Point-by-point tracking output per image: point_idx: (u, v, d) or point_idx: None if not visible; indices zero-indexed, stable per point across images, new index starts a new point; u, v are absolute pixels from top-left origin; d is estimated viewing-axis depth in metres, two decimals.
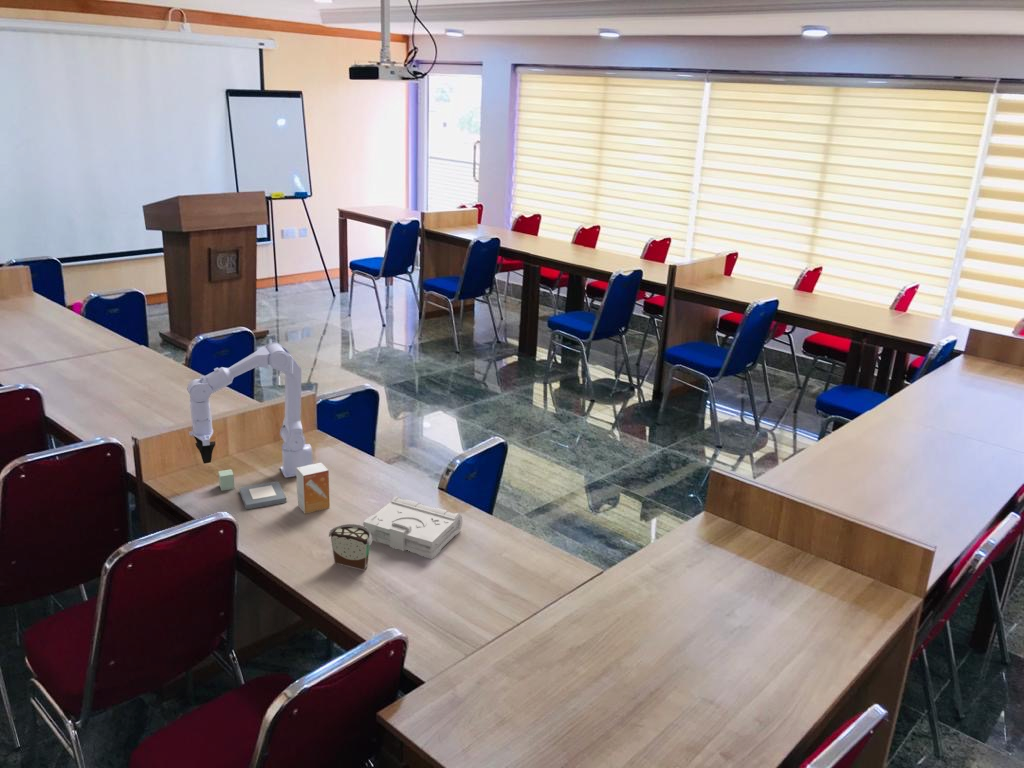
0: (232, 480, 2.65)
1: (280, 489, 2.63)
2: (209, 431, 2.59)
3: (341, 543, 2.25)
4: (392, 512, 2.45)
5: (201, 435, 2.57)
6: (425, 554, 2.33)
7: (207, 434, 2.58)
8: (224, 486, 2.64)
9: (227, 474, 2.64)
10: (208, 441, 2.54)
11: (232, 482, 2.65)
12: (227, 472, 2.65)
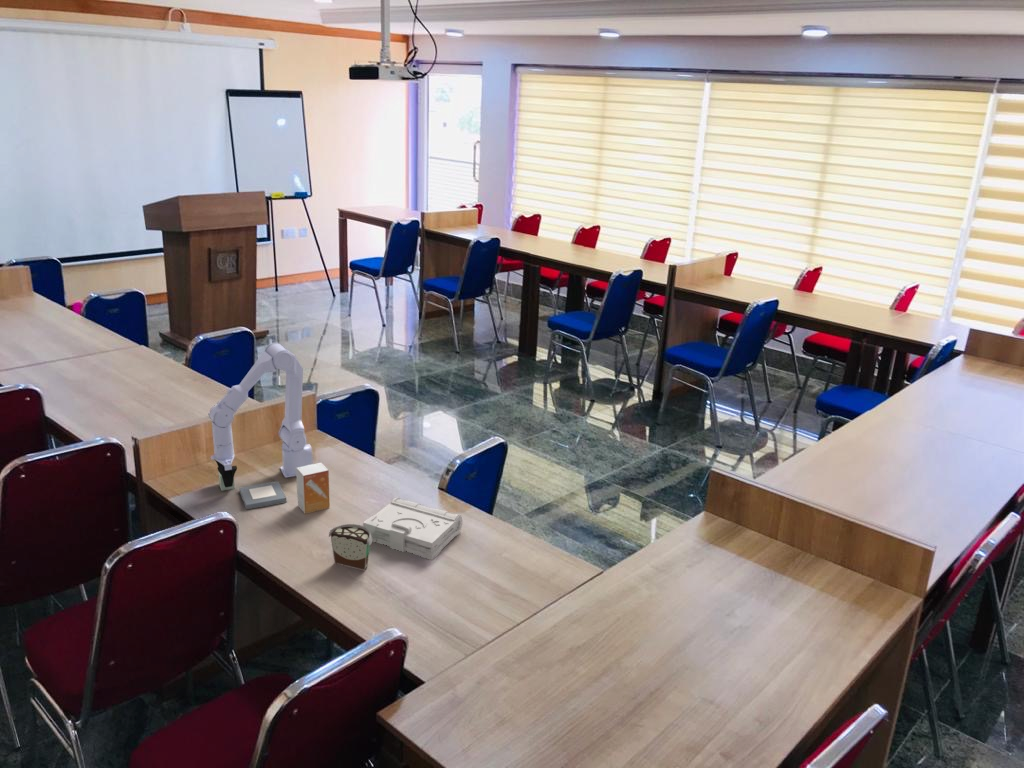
0: None
1: (280, 489, 2.63)
2: (231, 455, 2.61)
3: (341, 543, 2.25)
4: (392, 512, 2.45)
5: (223, 459, 2.60)
6: (425, 555, 2.32)
7: (229, 458, 2.61)
8: (224, 486, 2.64)
9: None
10: (230, 466, 2.57)
11: None
12: None
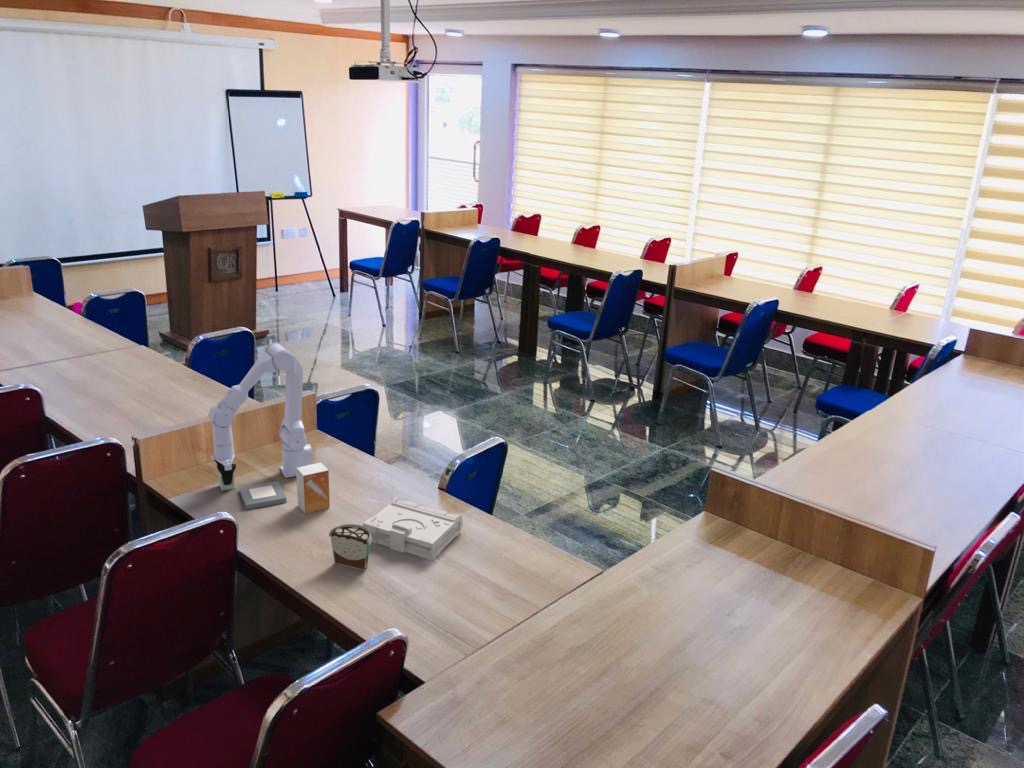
0: (232, 480, 2.65)
1: (280, 489, 2.63)
2: (231, 455, 2.61)
3: (341, 543, 2.25)
4: (392, 513, 2.44)
5: (223, 459, 2.60)
6: (425, 556, 2.32)
7: (229, 458, 2.61)
8: (224, 486, 2.64)
9: None
10: (230, 466, 2.57)
11: (232, 482, 2.65)
12: None
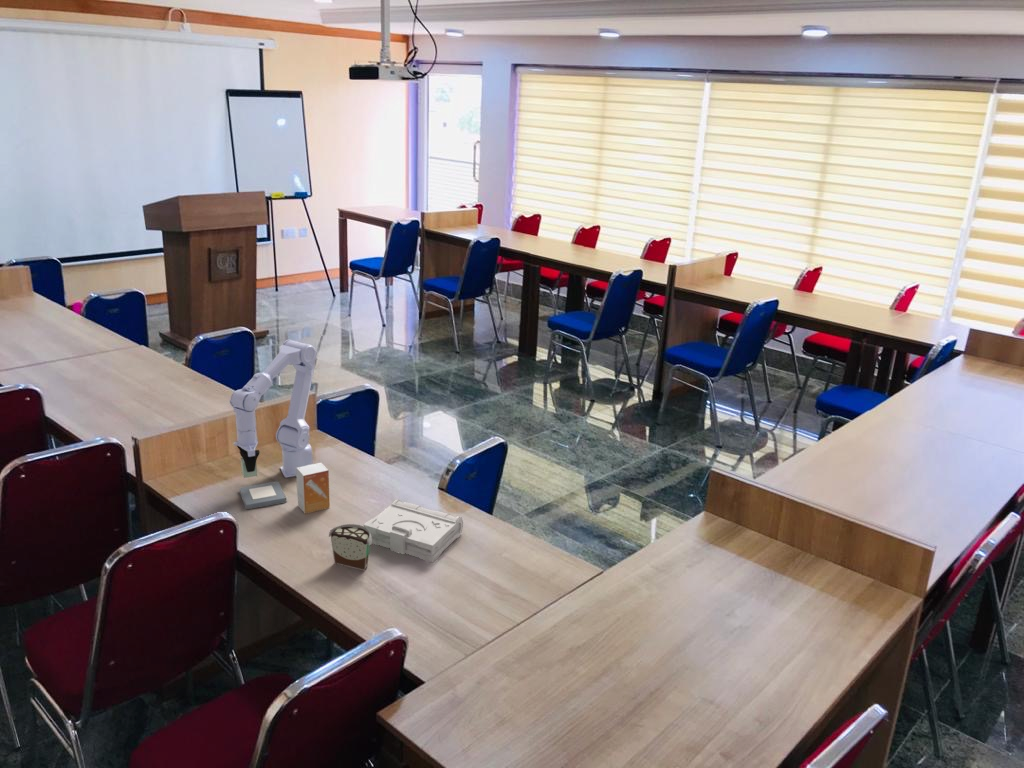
0: (255, 467, 2.58)
1: (280, 489, 2.63)
2: (254, 441, 2.55)
3: (341, 543, 2.25)
4: (392, 514, 2.44)
5: (246, 446, 2.54)
6: (425, 557, 2.31)
7: (252, 445, 2.55)
8: (247, 474, 2.58)
9: None
10: (253, 452, 2.51)
11: (255, 469, 2.59)
12: None
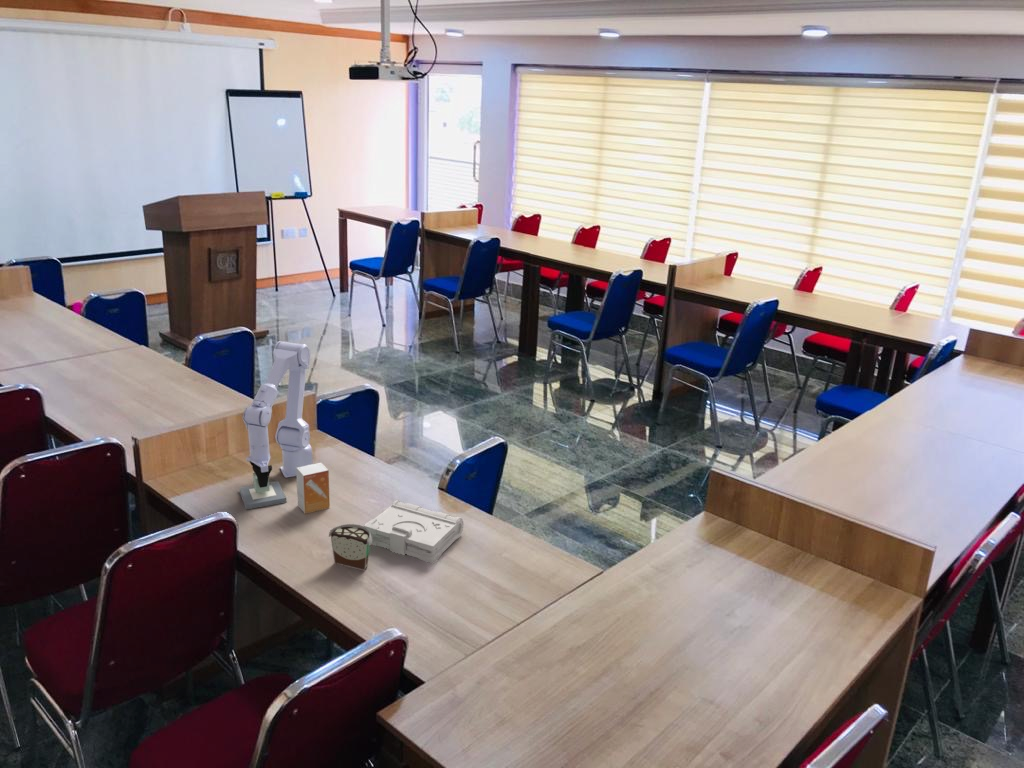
0: None
1: (280, 489, 2.63)
2: (267, 457, 2.55)
3: (341, 543, 2.25)
4: (392, 515, 2.43)
5: (259, 461, 2.54)
6: (426, 558, 2.31)
7: (265, 460, 2.54)
8: (259, 489, 2.58)
9: None
10: (267, 467, 2.51)
11: (267, 484, 2.58)
12: None
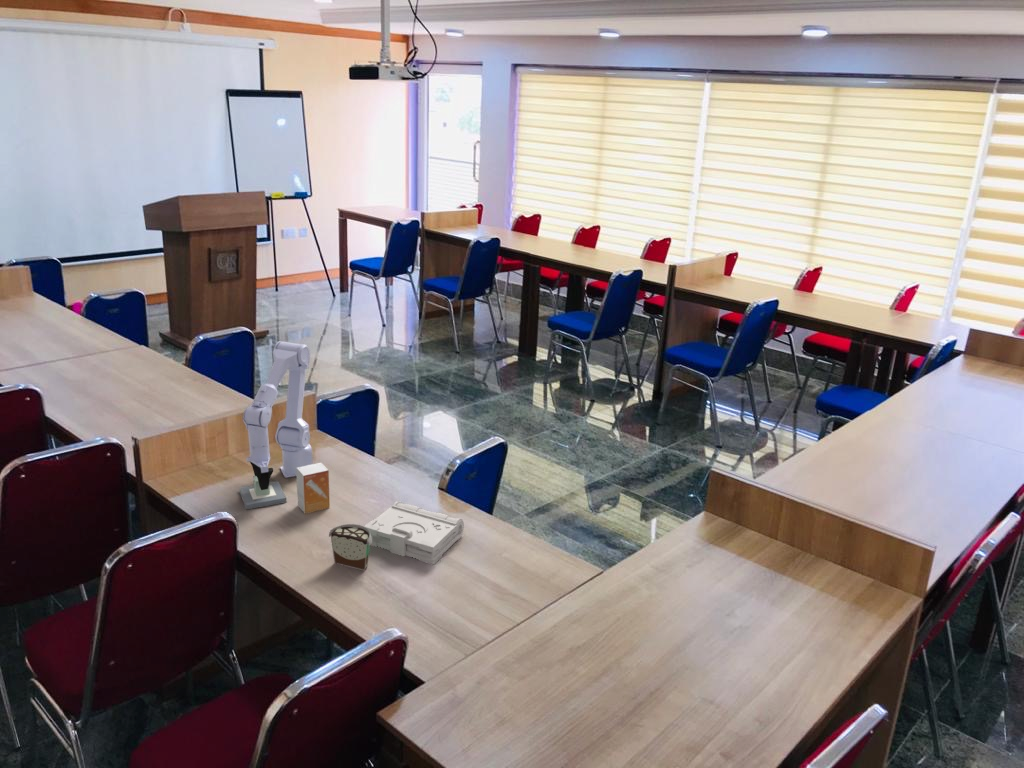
0: None
1: (280, 489, 2.63)
2: (267, 457, 2.55)
3: (341, 543, 2.25)
4: (393, 516, 2.43)
5: (259, 461, 2.54)
6: (426, 559, 2.30)
7: (265, 460, 2.54)
8: (259, 492, 2.58)
9: None
10: (267, 468, 2.51)
11: None
12: None
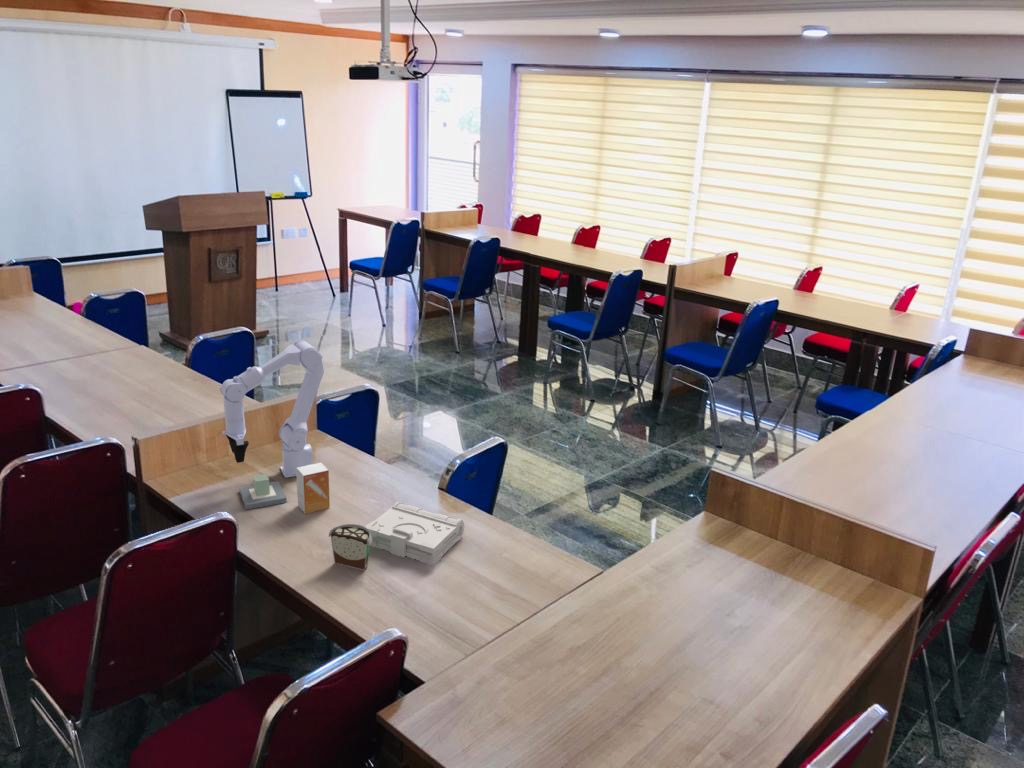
0: (267, 485, 2.59)
1: (280, 489, 2.63)
2: (242, 431, 2.61)
3: (341, 543, 2.25)
4: (393, 517, 2.42)
5: (234, 435, 2.60)
6: (426, 561, 2.30)
7: (240, 434, 2.60)
8: (259, 492, 2.58)
9: (262, 479, 2.58)
10: (242, 440, 2.57)
11: (267, 487, 2.59)
12: (262, 477, 2.59)
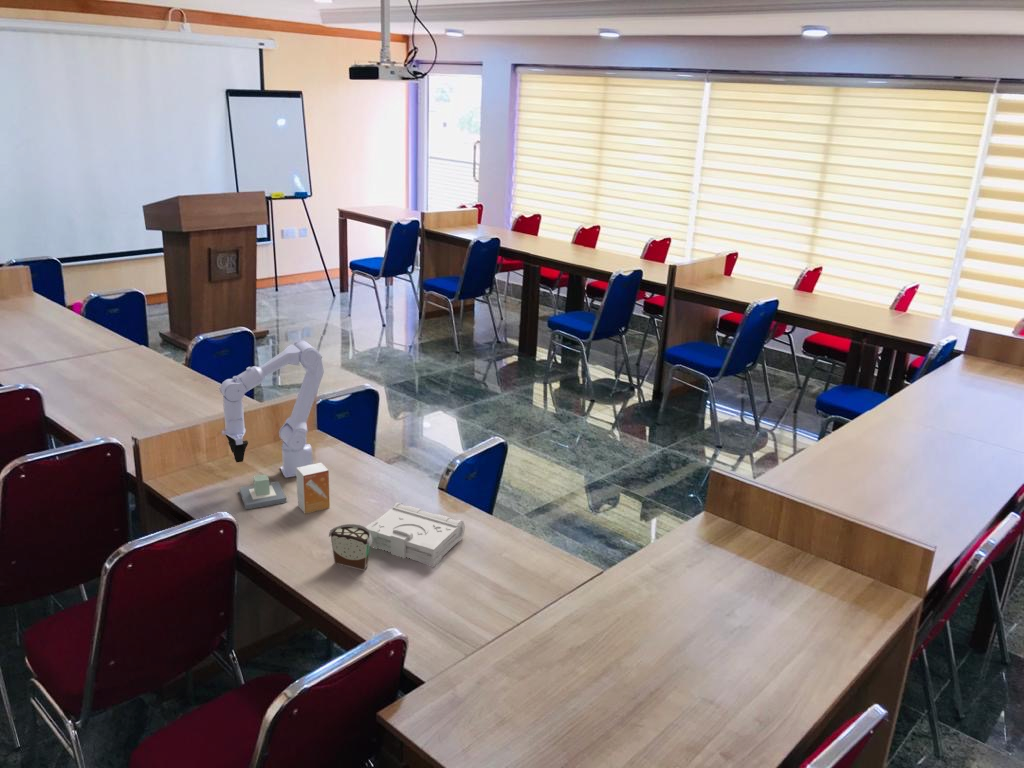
0: (267, 485, 2.59)
1: (280, 489, 2.63)
2: (242, 430, 2.61)
3: (341, 543, 2.25)
4: (393, 518, 2.42)
5: (234, 434, 2.60)
6: (426, 561, 2.29)
7: (240, 433, 2.61)
8: (259, 492, 2.58)
9: (262, 479, 2.58)
10: (241, 440, 2.57)
11: (267, 487, 2.59)
12: (262, 477, 2.59)
